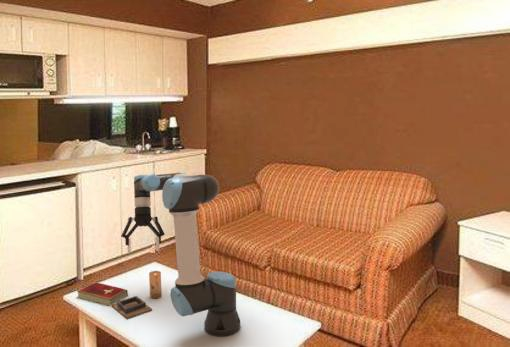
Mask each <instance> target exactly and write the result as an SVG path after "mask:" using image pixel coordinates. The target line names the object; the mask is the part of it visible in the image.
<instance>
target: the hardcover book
mask: <svg viewBox="0 0 510 347" xmlns="http://www.w3.org/2000/svg"><path fill="white" fill-rule="evenodd" d="M76 292H77V294H78V296H77V297H79V299H82V298H83V300H87V301H91V302H95V303H97V302H98V304H101V305H106V306H109V307H110V306H112V304H115V303H117V302H119V301H122V300H124V299H125V298H126V297H129V293H128V292H129V291H128V289H126V288H122V287H117V286H113V285H109V284H104V283H100V282H96V281H94V282H92V283H90V284H87V285H86V286H84V287H82V288H80V289H78V290H76Z"/></svg>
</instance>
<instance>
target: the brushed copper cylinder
mask: <svg viewBox="0 0 510 347" xmlns="http://www.w3.org/2000/svg"><path fill="white" fill-rule="evenodd" d="M148 277H149V280H148V281H149V297H150V299H152V300H157V299H160V298H162V292H163V290H162V271H159V270H154V271H153V270H151V271H150V272H149V275H148Z"/></svg>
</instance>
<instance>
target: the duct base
mask: <svg viewBox="0 0 510 347" xmlns="http://www.w3.org/2000/svg"><path fill="white" fill-rule="evenodd" d="M111 308H113V309H114V310H115V311H117V313H119V314H120V315H121V316H123V318H124V319H126V320H129V319H132V318H135V317H138V316H140V315H144V314H146V313H149V312H152V311H153V308H152V307H150V306H149V305H148V304H147V303H146V301H144V300H142V298H140V297H139V296H137V295H136V296H132V297H128V298H126V299H125V298H124V299H121V300H119V301H117V302H116V303H114V304H112V305H111Z"/></svg>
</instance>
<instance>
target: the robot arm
mask: <svg viewBox="0 0 510 347" xmlns="http://www.w3.org/2000/svg"><path fill="white" fill-rule="evenodd" d="M133 190H134V193H133V194H134V217H132V216H129V217H128V218H127V222H126V225H125V227H124V229H123V231H122V233H121V235H120V236H121V238H124V241H125V243H124V244H125V246H127V254H129V253H132V240H131V238H130V236H132V234H133V233H134V232H135V231H136V229H137V228H138V227H140V228H141V227H148V228H149V229H150V230H151V231H152V232H153V234H154V235H155V252H159V251H160V244H162V236H165V235H166V234H165V232H164V230H163V228H162V226H161V224H160V222H159V218H158V216H153V217H152V208H151V204H152V202H151V192H159V191H162V192H161V198H162V200H161V201H162V202H163V206H164V208H165V209H168V213H169V214H170V215H171V216H173V225H174V226H173V227H174V237H175V248H176V249H175V250H176V252H175V253H176V263H177V272H178V273H177V275H178V276H177V278H176V279H175V280H174V284H175V285H174V286H173V287H172V288H171V289H170V293H169V294H170V300H171V304H172V306H173V308H174V310H175V312H176V314H178V315H179V316H181V317H186V316H193V315H194V314H199V313H201V312H204V311H207V314H206V317H205V320H204V321H203V322H204V323H203V324H204V325H203V328H204V331H205V332H206V333H207V334H208V335H210V336H214V337H228V336H232V335H234V334H236V333H238V332H239V331H240V330H241V319H240V315H239V313H238V311H237V281H236V280H237V279H236V277H235V276H234V275H233V274H231V273H230V272H225V271H211V272H209V273H208V274H207V276H206V277H205V276H204V275H202V274H201V264H200V251H199V242H198V228H197V213H198V212H199V211H200V205H204V204H207V203H210V202H212V201H214V200H215V199H216V197H218V194H219V193H220V184H219V182H218V180H217V178H216V177H214V176H213V175H210V174H197V175H190V174H186V173H185V172H174V173H173V172H172V173H162V174H154V173H149V174H137V175H135V176H134V177H133ZM152 221H153V223H154V224H155V226H154V224H153V223H152ZM133 222H135V224H133V226H132V228H131V229H130V227H131V224H132V223H133ZM156 228H157V229H156ZM129 229H130V230H129Z"/></svg>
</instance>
